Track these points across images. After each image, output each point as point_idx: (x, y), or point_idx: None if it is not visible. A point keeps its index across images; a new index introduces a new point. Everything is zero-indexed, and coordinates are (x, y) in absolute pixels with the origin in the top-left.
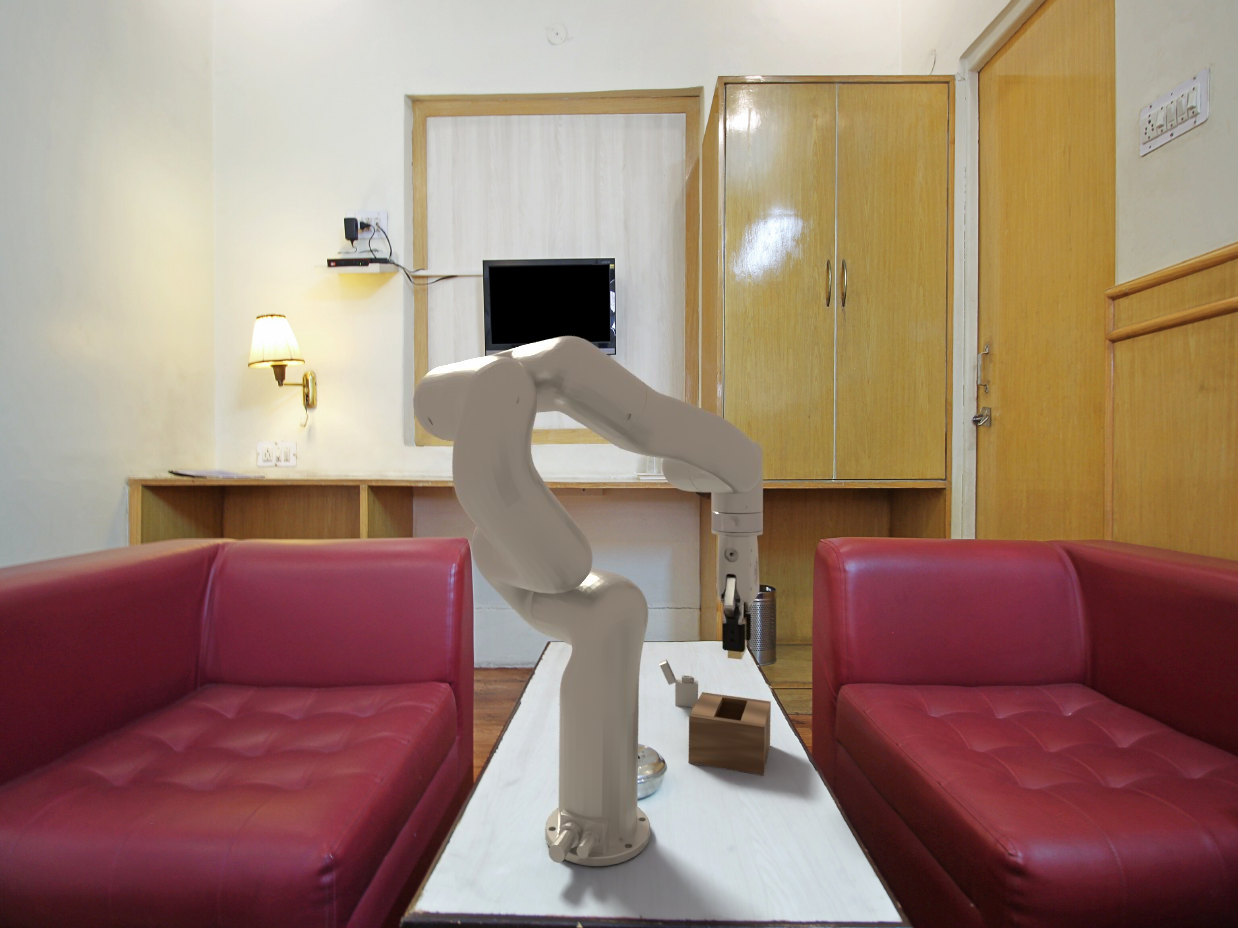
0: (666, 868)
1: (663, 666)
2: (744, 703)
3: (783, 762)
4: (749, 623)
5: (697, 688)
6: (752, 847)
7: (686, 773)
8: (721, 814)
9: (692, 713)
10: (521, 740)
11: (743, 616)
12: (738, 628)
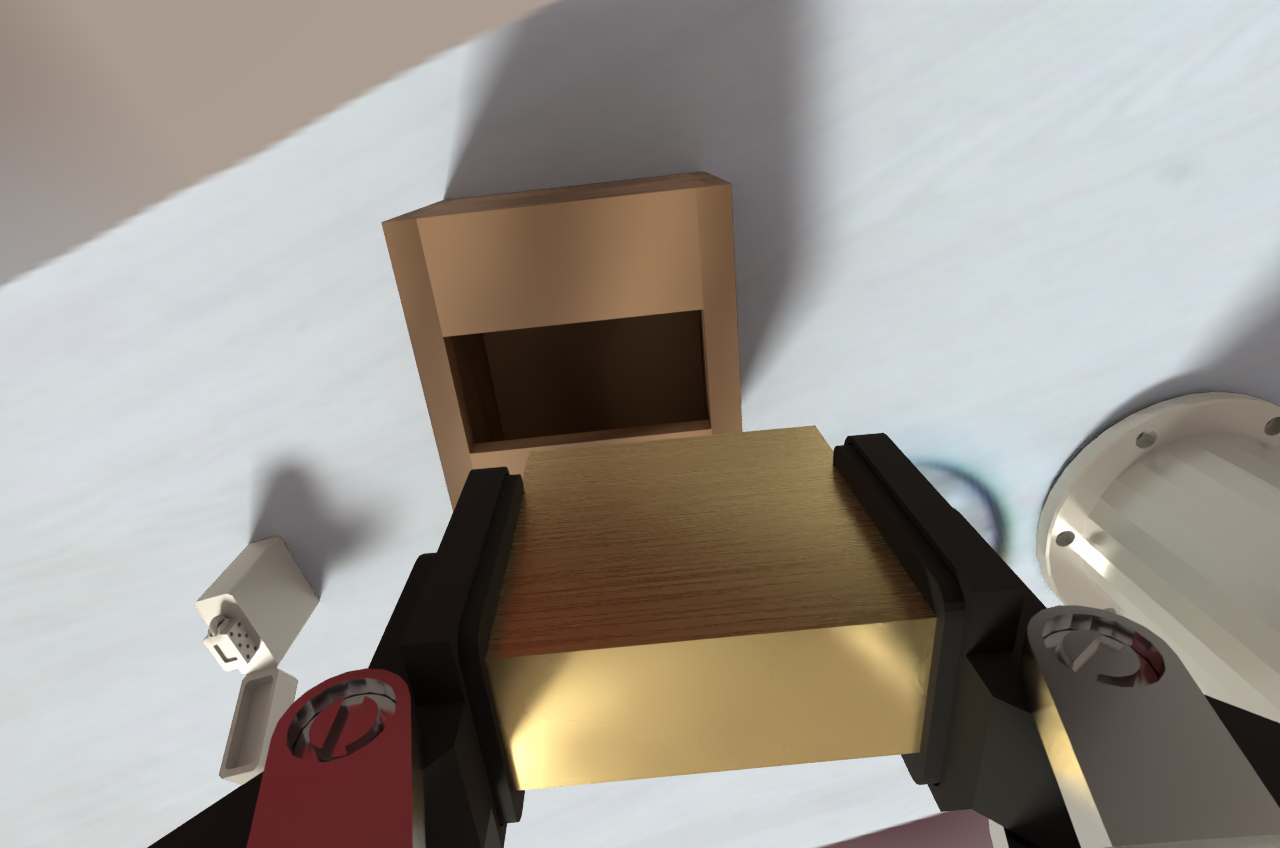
0: None
1: None
2: (450, 347)
3: (561, 116)
4: (478, 568)
5: (239, 582)
6: (1164, 108)
7: (790, 418)
8: (1001, 248)
9: None
10: (778, 832)
11: (493, 692)
12: (1026, 615)
